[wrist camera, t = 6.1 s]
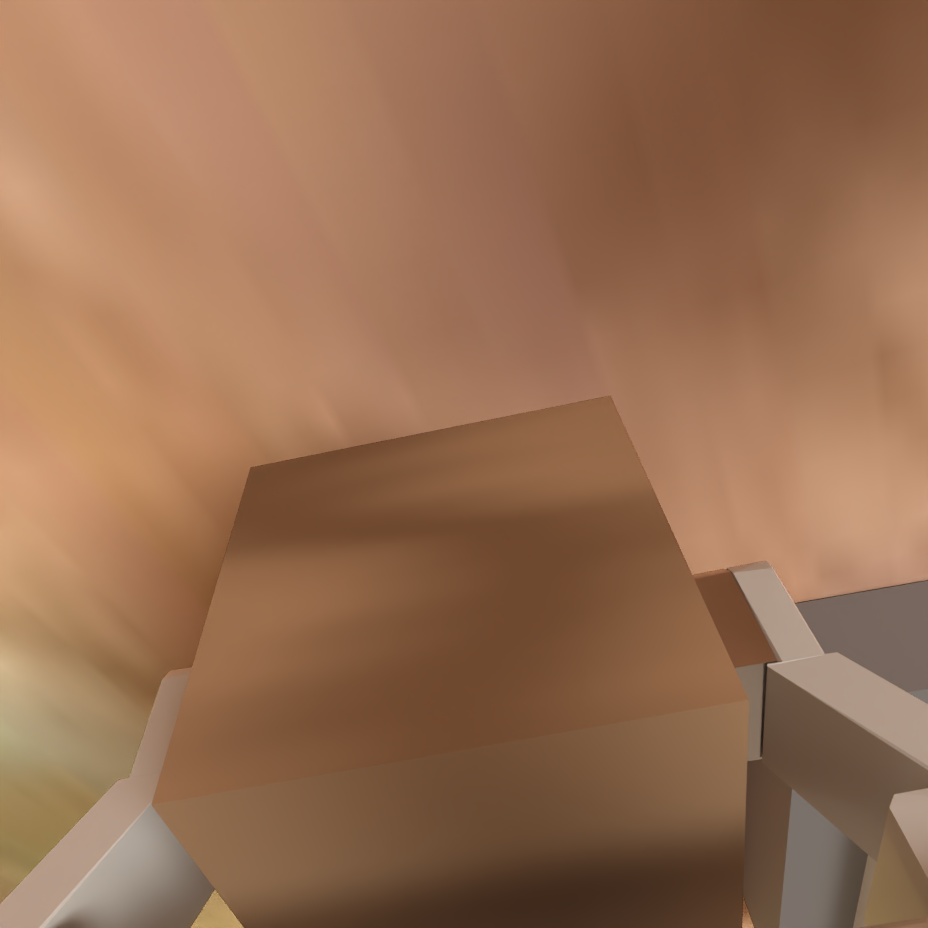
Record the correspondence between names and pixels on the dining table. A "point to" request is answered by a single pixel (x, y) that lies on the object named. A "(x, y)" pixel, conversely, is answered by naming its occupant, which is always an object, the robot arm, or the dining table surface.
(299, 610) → the walnut block
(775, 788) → the plinth
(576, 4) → the dining table surface
